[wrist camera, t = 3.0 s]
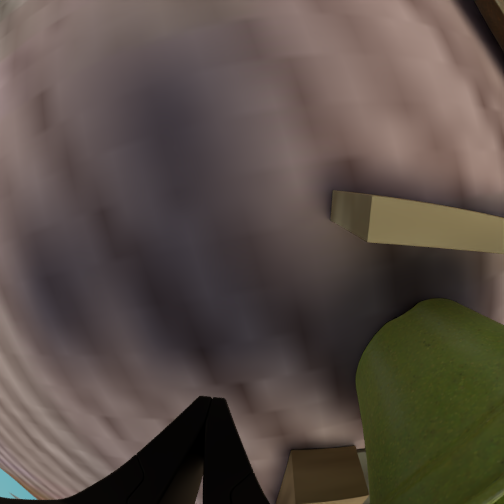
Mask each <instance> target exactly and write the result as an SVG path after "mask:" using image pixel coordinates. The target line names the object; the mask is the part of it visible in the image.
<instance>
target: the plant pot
mask: <svg viewBox="0 0 504 504" xmlns="http://www.w3.org/2000/svg"><path fill="white" fill-rule="evenodd" d="M356 391H357V396H358V402H359V408H360V414H361V420H362V425H363V433H364V440H365V449H366V458H367V468H368V481H369V496H370V504H504V325H502V324H500V323H498V322H496V321H494V320H492V319H490V318H488V317H485V316H483V315H481V314H479V313H477V312H475V311H473V310H471V309H469V308H467V307H465V306H463V305H461V304H459V303H457V302H455V301H452V300H449V299H444V298H436V299H429V300H425V301H422V302H419V303H417V304H416V305H415V306H414V307H413V308H412V309H411V310H409V311H408V312H406V313H405V314H403V315H402V316H400V317H398V318H396V319H393V320H391V321H389V322H388V323H386V324H385V325H384V326H383V327H382V328H381V329H380V330H379V331H378V332H377V333H376V334H375V336H374V337H373V338H372V340H371V341H370V342H369V344H368V346H367V347H366V349H365V350H364V352H363V354H362V357H361V359H360V361H359V364H358V368H357V372H356Z"/></svg>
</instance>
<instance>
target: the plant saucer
mask: <svg viewBox="0 0 504 504" xmlns="http://www.w3.org/2000/svg"><path fill="white" fill-rule="evenodd" d="M474 2H475V3H476V5H477V7H478V9H479V11H480V12H481V14H482V16H483V18H484V20H485V21H486V23H487V25H488V27H489V28H490V30H491V32H492V33H493V35H494V37H495V38H496V40H497V42H498V44H499V45H500V47H501V49H502V50H503V52H504V0H474Z"/></svg>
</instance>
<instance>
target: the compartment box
mask: <svg viewBox="0 0 504 504" xmlns="http://www.w3.org/2000/svg"><path fill="white" fill-rule="evenodd" d="M330 220H331V221H332V222H334V223H336V224H337V225H339V226H341V227H343V228H344V229H346V230H348V231H349V232H351V233H353V234H355V235H356V236H358V237H360V238H361V239H363V240H365V241H366V242H372V243H385V244H398V245H411V246H423V247H435V248H446V249H457V250H468V251H479V252H489V253H499V254H504V218H503V217H499V216H494V215H490V214H485V213H480V212H476V211H471V210H466V209H460V208H455V207H450V206H444V205H438V204H433V203H427V202H420V201H414V200H408V199H401V198H394V197H386V196H379V195H371V194H363V193H354V192H345V191H336V190H333V194H332V207H331V219H330ZM276 504H370V496H369V481H368V468H367V458H366V449H363V450H356V447H355V446H349V447H339V448H327V449H310V450H291V452H290V456H289V460H288V464H287V467H286V471H285V474H284V478H283V481H282V485H281V488H280V491H279V495H278V498H277V501H276Z"/></svg>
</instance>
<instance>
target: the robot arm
mask: <svg viewBox="0 0 504 504" xmlns="http://www.w3.org/2000/svg"><path fill="white" fill-rule="evenodd" d="M202 476H203V504H270V503H269V501H268V500H267V498H266V496H265V495H264V493H263V491H262V489H261V487H260V485H259V483H258V481H257V478H256V476H255V474H254V473H253V469H252V467H251V464H250V462H249V460H248V457H247V455H246V452H245V450H244V447H243V445H242V442H241V439H240V437H239V434H238V432H237V429H236V426H235V424H234V421H233V418H232V416H231V413H230V410H229V407H228V404H227V402H226V399H225V398H217V397H214V398H213V399H212V398H211V397H207V396H199V397H198V398H197V399H196V400H195V401H194V402H193V403H192V404H191V405H190V406H188V407H187V408H186V409H185V410H184V411H183V412H182V413H181V414H180V415H179V416H178V417H177V418H176V419H175V420H174V421H173V422H171V423H170V424H169V425H168V426H167V427H166V428H165V429H164V430H163V431H162V432H161V433H159V434H158V435H157V436H156V437H155V438H154V439H153V440H152V441H151V442H149V443H148V444H147V445H146V446H145V447H144V448H143V449H142V450H140V451H139V452H138V453H137V455H134V456H133V457H132V458H131V459H130V460H129V461H127V462H126V463H125V464H124V465H122V466H121V467H120V468H118V469H117V470H116V471H114V472H113V473H111V474H110V475H108V476H107V477H105V478H103V479H102V480H100V481H98V482H97V483H95V484H93V485H91V486H90V487H88V488H86V489H84V490H83V491H81V492H79V493H77V494H75V495H73V496H71V497H68V498H64V499H58V500H25V499H10V498H3V497H0V504H195V501H196V497H197V494H198V490H199V487H200V483H201V480H202Z"/></svg>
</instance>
